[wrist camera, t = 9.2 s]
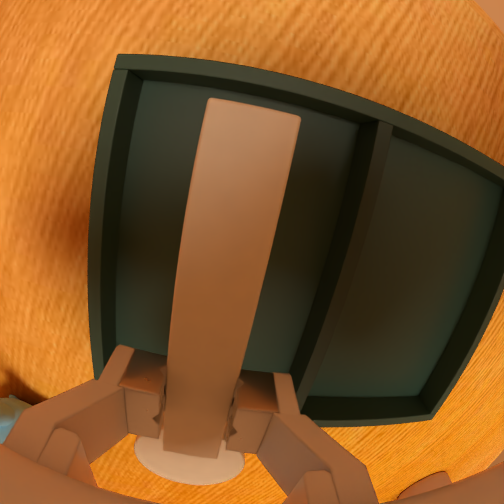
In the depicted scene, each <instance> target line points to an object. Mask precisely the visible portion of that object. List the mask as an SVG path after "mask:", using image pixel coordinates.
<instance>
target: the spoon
mask: <svg viewBox="0 0 504 504" xmlns="http://www.w3.org/2000/svg"><path fill="white" fill-rule="evenodd" d="M300 122H301V117H299V116H297V115H293V114H289V113H285V112H281V111H277V110H273V109H268V108H264V107H259V106H254V105H249V104H244V103H239V102H234V101H229V100H223V99H217V98H209V99H208V101H207V106H206V110H205V114H204V119H203V123H202V128H201V133H200V137H199V142H198V147H197V152H196V157H195V162H194V167H193V172H192V178H191V183H190V189H189V194H188V200H187V206H186V212H185V218H184V224H183V231H182V237H181V244H180V251H179V258H178V265H177V273H176V281H175V289H174V297H173V306H172V315H171V325H170V335H169V346H168V358H167V381H166V386H165V395H166V398H165V411H164V412H163V423H162V427H161V431H160V435H159V439H154V438H149V437H144V436H140V435H137V437H136V441H135V444H134V451H135V454H136V456H137V458H138V460H139V461H140V462H141V463H142V464H143V465H144V466H145V467H146V468H148V469H149V470H150V471H152V472H154V473H155V474H157V475H159V476H161V477H164V478H166V479H169V480H172V481H176V482H180V483H185V484H193V485H210V484H217V483H222V482H225V481H228V480H230V479H232V478H234V477H236V476H237V475H238V474H239V473H240V472H241V471H242V469H243V467H244V464H245V460H244V453H243V452H235V451H227V450H226V430H227V426H228V422H227V418H228V413H229V409H230V406H231V404H232V402H233V394H234V390H235V386H236V382H237V379H238V377H239V375H240V371H241V367H242V364H243V360H244V356H245V352H246V348H247V344H248V340H249V336H250V332H251V328H252V324H253V321H254V317H255V313H256V309H257V305H258V301H259V297H260V293H261V289H262V284H263V280H264V276H265V272H266V268H267V264H268V260H269V256H270V252H271V248H272V243H273V239H274V235H275V231H276V227H277V223H278V218H279V214H280V210H281V206H282V201H283V197H284V193H285V188H286V184H287V180H288V176H289V171H290V167H291V162H292V158H293V154H294V149H295V145H296V140H297V136H298V131H299V127H300Z"/></svg>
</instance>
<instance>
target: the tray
mask: <svg viewBox="0 0 504 504" xmlns="http://www.w3.org/2000/svg"><path fill="white" fill-rule="evenodd" d="M209 98H217V99H223V100H229V101H234V102H239V103H244V104H249V105H254V106H259V107H264V108H268V109H273V110H277V111H281V112H285V113H289V114H293V115H297V116H299V117H301V122H300V127H299V131H298V136H297V140H296V145H295V149H294V154H293V158H292V162H291V167H290V171H289V176H288V180H287V184H286V188H285V193H284V197H283V201H282V206H281V210H280V214H279V218H278V223H277V227H276V231H275V235H274V239H273V243H272V248H271V252H270V256H269V260H268V264H267V268H266V272H265V276H264V280H263V284H262V289H261V293H260V297H259V301H258V305H257V309H256V313H255V317H254V321H253V324H252V328H251V332H250V336H249V340H248V344H247V348H246V352H245V356H244V360H243V364H242V367H241V369H245V370H253V371H262V372H271V373H272V372H276V373H289V374H290V375H291V377H292V381H293V385H294V390H295V394H296V398H297V402H298V407H299V411H300V414H301V415H306V416H307V417H309V418H310V419H311V420H312V421H313V422H314V423H315V424H317V425H318V426H319V427H361V426H378V425H391V424H402V423H411V422H419V421H426V420H432V419H433V417H434V416H435V414H436V413H437V412H438V410H439V409H440V407H441V406H442V404H443V403H444V402H445V400H446V399H447V397H448V396H449V394H450V392H451V391H452V389H453V388H454V386H455V385H456V383H457V381H458V380H459V378H460V376H461V375H462V373H463V371H464V370H465V368H466V366H467V364H468V363H469V361H470V359H471V357H472V356H473V354H474V352H475V350H476V348H477V346H478V344H479V342H480V340H481V338H482V337H483V335H484V332H485V330H486V328H487V326H488V324H489V322H490V320H491V318H492V316H493V313H494V311H495V309H496V307H497V304H498V302H499V299H500V297H501V295H502V292H503V290H504V166H502V165H501V164H499V163H497V162H496V161H494V160H493V159H491V158H489V157H488V156H486V155H484V154H483V153H481V152H479V151H478V150H476V149H474V148H472V147H471V146H469V145H467V144H465V143H463V142H461V141H460V140H458V139H456V138H454V137H452V136H450V135H448V134H446V133H444V132H442V131H440V130H438V129H436V128H434V127H432V126H430V125H428V124H426V123H424V122H421V121H419V120H417V119H415V118H413V117H410V116H408V115H406V114H403V113H401V112H399V111H396V110H394V109H391V108H389V107H386V106H384V105H381V104H379V103H376V102H374V101H371V100H368V99H365V98H363V97H360V96H357V95H354V94H351V93H348V92H345V91H342V90H339V89H336V88H333V87H330V86H326V85H323V84H319V83H316V82H313V81H309V80H305V79H302V78H298V77H294V76H290V75H286V74H282V73H277V72H273V71H268V70H264V69H259V68H254V67H249V66H243V65H238V64H232V63H225V62H219V61H212V60H204V59H196V58H187V57H176V56H164V55H146V54H118V55H117V58H116V62H115V65H114V70H113V73H112V77H111V81H110V85H109V89H108V94H107V98H106V103H105V107H104V112H103V117H102V122H101V128H100V133H99V139H98V145H97V152H96V159H95V166H94V174H93V183H92V192H91V203H90V216H89V234H88V311H89V328H90V341H91V352H92V362H93V370H94V378H95V380H98V379H99V378H100V376H101V374H102V372H103V370H104V368H105V366H106V364H107V363H108V361H109V359H110V357H111V355H112V354H113V352H114V350H115V348H116V347H117V346H118V345H119V344H121V345H124V346H128V347H132V348H135V349H140V350H144V351H148V352H152V353H157V354H161V355H165V356H168V346H169V335H170V325H171V315H172V306H173V297H174V289H175V281H176V273H177V265H178V258H179V251H180V244H181V237H182V231H183V224H184V218H185V212H186V206H187V200H188V194H189V189H190V183H191V178H192V172H193V167H194V162H195V157H196V152H197V147H198V142H199V137H200V133H201V128H202V123H203V119H204V114H205V110H206V106H207V101H208V99H209Z"/></svg>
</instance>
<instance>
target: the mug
mask: <svg viewBox="0 0 504 504" xmlns="http://www.w3.org/2000/svg"><path fill="white" fill-rule="evenodd" d="M451 483H452V482H451V480H450V478H449V476H448V474H447V473H446V472H438V473H435V474H432V475H430V476H428V477H426V478H424V479H422V480H420V481H418V482H416V483H415V484H413V485H411V486H410V487H409V488H407V489H406V490H405V491H403V492H402V493H401V494H400V496H399V497H398V499H402V498H406V497H410V496H414V495H417V494H421V493H424V492H427V491H431V490H434V489H437V488H440V487H443V486H446V485H449V484H451Z"/></svg>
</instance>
